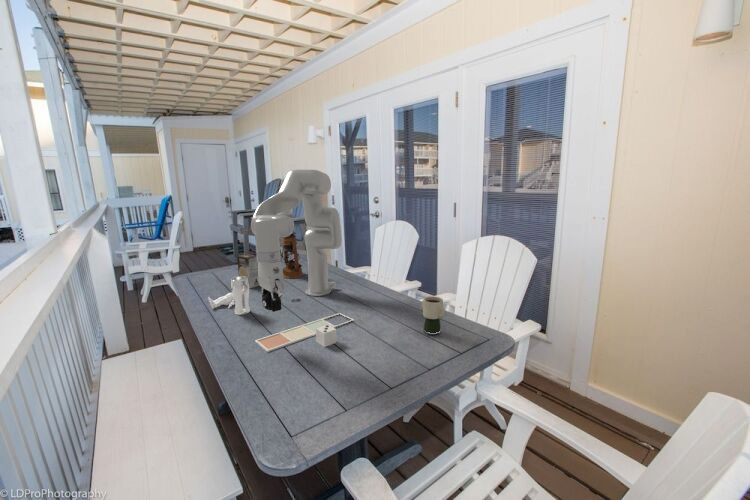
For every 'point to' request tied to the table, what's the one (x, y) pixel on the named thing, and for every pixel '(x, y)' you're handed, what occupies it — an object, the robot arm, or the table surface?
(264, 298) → the billiard ball
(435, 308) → the character mug
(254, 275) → the coffee box
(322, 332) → the die
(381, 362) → the table surface
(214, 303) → the toy creature
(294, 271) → the lantern
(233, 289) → the beer glass
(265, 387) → the table surface
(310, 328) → the board
